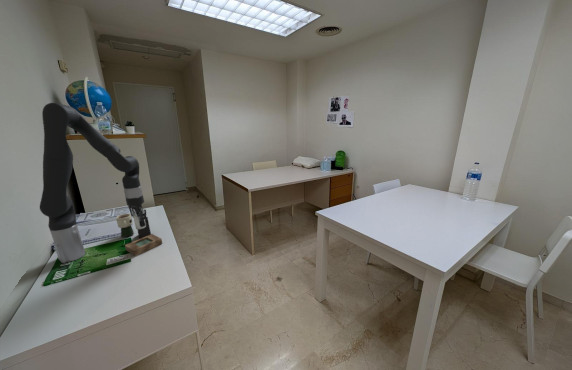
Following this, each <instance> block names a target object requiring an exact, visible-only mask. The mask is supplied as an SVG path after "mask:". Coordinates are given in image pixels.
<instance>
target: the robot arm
mask: <svg viewBox="0 0 572 370" xmlns="http://www.w3.org/2000/svg"><path fill="white" fill-rule="evenodd" d="M41 112H42V115H41V116H42V124H43V137H44V138H43V154H42V155H43V156H42V181H43V182H42V183H43V187H42V188H43V189H42V194H41V198H40V203H39V210H40V212H41V213H42V215H44V216H46V217H48V225H47V226H48V228H49V232H50V234H51V238H52V241H53V243H52V244H53V246H54V250H55V252H56V256H57V259H58V260H59V261H60V262H61V263H62V264H65V263H69V262H73V261H76V260H79V259H81V258H82V257H84V256H85V255H86V251H85V247H84V244H83V240H82V237H81V234H80V230H79V227H78V224H77V219H76V218H77V215H76V211H75V206H74V203H73V201H72V199H71V198H70V196H68V195H67V191H68V188H67V187H68V184H69V182H70V179H71V175H72V173H73V167H74V165H73V164H74V155H73V152H72V149H71V147H70V145H69V142H68V140H67V130H68V129H67V128H71V129H73V130H74V131H76V132H77V133H78V134H80V135H81V136H82V137H84V139H85V140H86V141H87V143H88V144H89V145H90V146H91V147H92V149H94V150H95V151H97V152H98V153H99V154H101V155H102V156H103V157H105V158H106V159H107V160H108V162H109V163H110V164H111V165H112V166H113V167H114V168H115V169H116V170H117V171H120V172H122V173H124V176H123V177H122V180H121V181H122V186H123V192H124V198H125V202H126V205H127V206H128V209H129V210H128V211H129V214H131V217H133V216H134V214H133V213H135V214H136V217H138V219H139V223H140V227H143V226H145V221H144V219H146V217H147V209H145V208H144V207H143V206H142V205H143V204H144V203H145V198H144V193H143V190H142V187H141V186H142V185H141V182H140V163H139V161H138V158H136V157H135V156H132V155H128V156H124V155H122V153H121V152H122V151H121V149H120V148H119V146H117V145H116V144H114V143H113V142H112V141H111V140H110V139H108V138H107V137H106V136H104V135H103V134H102V133H101V132H99V131H98V130H97V129H96V128H95V127H94V126H93V125H92V124H90V122H88V120H87V119H86V118H85V117H84V116H82V114H81V113H80V112H79V111H78V110H77V109H75V108H74V107H72V106H70V105H66V104H63V103H57V102H49V103H47V104H45V105H44V106H43V108H42V111H41ZM138 214H140V215H138Z"/></svg>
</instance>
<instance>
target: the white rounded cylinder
mask: <svg viewBox="0 0 572 370" xmlns="http://www.w3.org/2000/svg"><path fill="white" fill-rule="evenodd" d="M133 214H134V216H132V219H133V221H134V222H133V223H134V226H135V229H136V230H137V229H143V228H145V227H146V223H145V226H143V227H140V223H139V219H138V217H136V214H135V213H133ZM138 215H140V214H138ZM144 221H145V219H144Z"/></svg>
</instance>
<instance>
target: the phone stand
mask: <svg viewBox="0 0 572 370" xmlns="http://www.w3.org/2000/svg"><path fill="white" fill-rule="evenodd" d="M145 223H146V227H145V228H143V229H136V230H137V234H138V237H139V239H141V238H143V237H146V236H148V235H151V234H152V233H151V228H150V222H149V217H148V216H146V219H145Z"/></svg>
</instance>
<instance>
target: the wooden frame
mask: <svg viewBox="0 0 572 370" xmlns="http://www.w3.org/2000/svg"><path fill="white" fill-rule="evenodd" d="M162 244H163V240H162V237H159V236H158V235H155V234H153V233H151V235H148V236H146V237H143V238H141V239H136V240H134V241H131V242H129V243H127V244H125V245H124V247H125V250H126V251H127V253H130V254H131V255H133V256H135V257H136V256H137V257H138V256H139V255H140V254H143V253H146V252H147V251H150V250H151V249H154V248H156V247H159V246H160V245H162Z"/></svg>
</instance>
